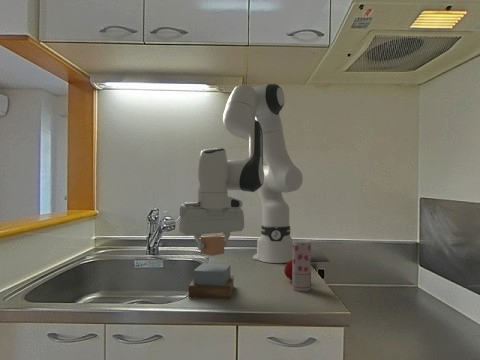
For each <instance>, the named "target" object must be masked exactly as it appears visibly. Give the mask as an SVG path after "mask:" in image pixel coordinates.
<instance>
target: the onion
mask: <svg viewBox="0 0 480 360" xmlns="http://www.w3.org/2000/svg"><path fill="white" fill-rule="evenodd" d="M283 272H284V275H285V276H286V278H287V279H288V280H290V281H291V282H292V272H293V258H292V260H290V261H289V262H286V263H285V266H284V270H283Z"/></svg>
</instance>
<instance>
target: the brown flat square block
mask: <svg viewBox="0 0 480 360" xmlns="http://www.w3.org/2000/svg"><path fill="white" fill-rule="evenodd" d="M234 278H235V275H230V279H229V280H228V281H227V283H226V284H225V285H224V286H213V285H198V284H194V277H193V279H192V280H191V282H190V283H189V285H188V298H189V297H196V298H195V299H216V300H217V299H218V300H219V299H221V300H222V299H224V300H230V299H231V297H232V294H233V289H234V285H235V284H234V280H235V279H234Z"/></svg>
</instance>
